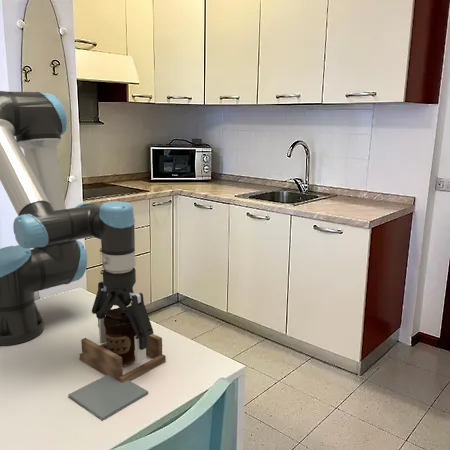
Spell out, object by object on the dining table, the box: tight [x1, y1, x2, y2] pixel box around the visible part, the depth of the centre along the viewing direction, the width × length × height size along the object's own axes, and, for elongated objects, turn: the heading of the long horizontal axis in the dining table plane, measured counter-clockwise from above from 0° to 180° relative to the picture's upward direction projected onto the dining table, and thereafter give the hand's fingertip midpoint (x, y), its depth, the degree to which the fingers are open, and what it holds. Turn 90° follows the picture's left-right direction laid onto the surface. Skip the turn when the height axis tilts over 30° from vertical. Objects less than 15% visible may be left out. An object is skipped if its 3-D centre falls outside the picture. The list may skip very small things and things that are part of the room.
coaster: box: [67, 375, 149, 422], centre depth 101 cm, size 12×12×1 cm
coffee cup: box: [104, 307, 137, 367], centre depth 114 cm, size 9×8×13 cm
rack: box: [78, 330, 167, 383], centre depth 114 cm, size 16×13×6 cm
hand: (122, 350), depth 114 cm, fingers open, 13 cm apart
